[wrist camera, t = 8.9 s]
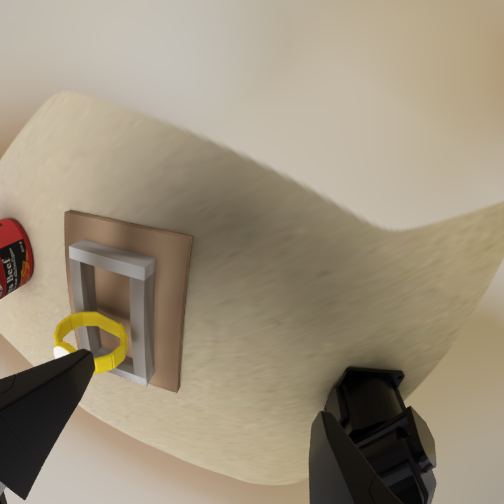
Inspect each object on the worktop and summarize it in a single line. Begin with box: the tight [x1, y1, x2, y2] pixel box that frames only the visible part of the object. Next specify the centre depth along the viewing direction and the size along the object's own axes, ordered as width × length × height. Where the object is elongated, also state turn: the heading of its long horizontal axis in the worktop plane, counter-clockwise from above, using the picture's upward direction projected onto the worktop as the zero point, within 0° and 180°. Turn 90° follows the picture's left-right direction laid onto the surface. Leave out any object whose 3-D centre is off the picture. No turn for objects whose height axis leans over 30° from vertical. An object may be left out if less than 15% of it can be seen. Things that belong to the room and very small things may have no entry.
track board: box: [64, 210, 193, 393], centre depth 21 cm, size 12×16×3 cm
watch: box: [53, 312, 128, 374], centre depth 17 cm, size 6×3×6 cm, turn 77°
